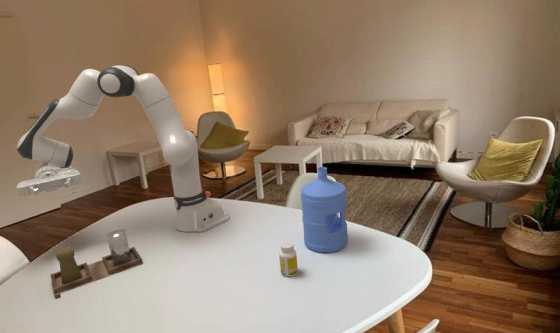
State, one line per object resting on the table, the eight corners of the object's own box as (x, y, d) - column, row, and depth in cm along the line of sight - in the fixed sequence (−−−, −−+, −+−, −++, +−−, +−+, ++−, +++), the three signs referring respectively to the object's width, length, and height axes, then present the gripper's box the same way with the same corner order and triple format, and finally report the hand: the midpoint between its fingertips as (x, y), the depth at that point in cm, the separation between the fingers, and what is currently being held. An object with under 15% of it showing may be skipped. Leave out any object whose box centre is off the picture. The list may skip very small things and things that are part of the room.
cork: (73, 285, 124) (65, 254, 120) (57, 284, 125) (48, 254, 122) (86, 274, 129) (78, 244, 126) (70, 273, 130) (62, 244, 127)
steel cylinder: (129, 255, 139) (123, 227, 136) (133, 262, 134) (127, 233, 131) (111, 261, 136) (105, 233, 133) (115, 268, 131) (108, 239, 128)
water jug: (298, 250, 135) (292, 174, 127) (311, 230, 149) (307, 160, 141) (342, 256, 129) (339, 177, 121) (352, 234, 143) (350, 162, 135)
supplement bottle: (299, 268, 124) (297, 241, 122) (295, 278, 120) (292, 250, 117) (283, 266, 126) (281, 239, 123) (278, 276, 121) (275, 248, 118)
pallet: (134, 252, 144) (133, 245, 143) (144, 266, 133) (142, 260, 132) (52, 280, 130) (50, 273, 129) (55, 298, 119) (53, 291, 119)
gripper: (13, 177, 139) (13, 187, 127) (76, 164, 149) (81, 172, 138) (18, 194, 140) (19, 205, 129) (80, 180, 151) (85, 189, 140)
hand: (51, 188), depth 134 cm, fingers open, 8 cm apart
